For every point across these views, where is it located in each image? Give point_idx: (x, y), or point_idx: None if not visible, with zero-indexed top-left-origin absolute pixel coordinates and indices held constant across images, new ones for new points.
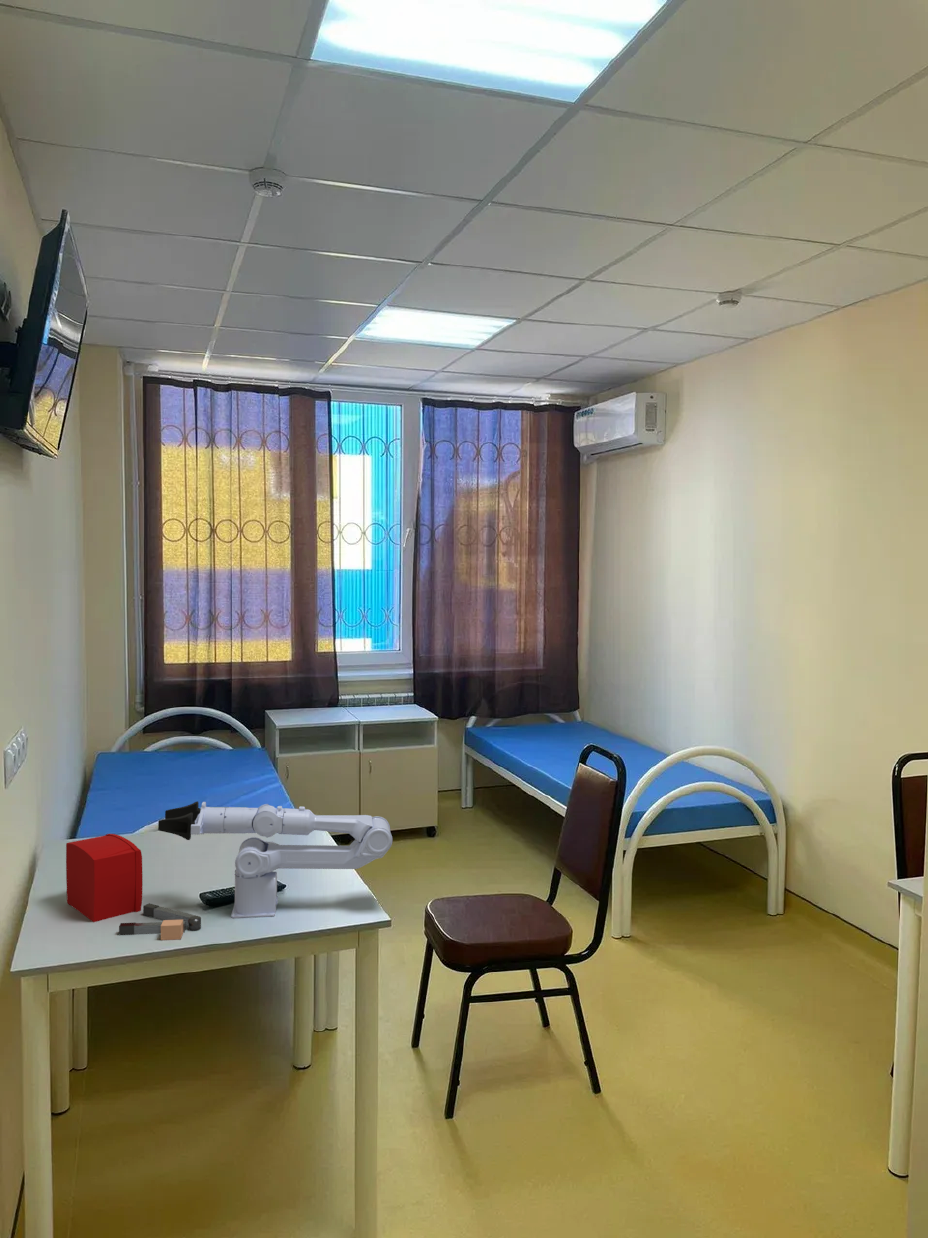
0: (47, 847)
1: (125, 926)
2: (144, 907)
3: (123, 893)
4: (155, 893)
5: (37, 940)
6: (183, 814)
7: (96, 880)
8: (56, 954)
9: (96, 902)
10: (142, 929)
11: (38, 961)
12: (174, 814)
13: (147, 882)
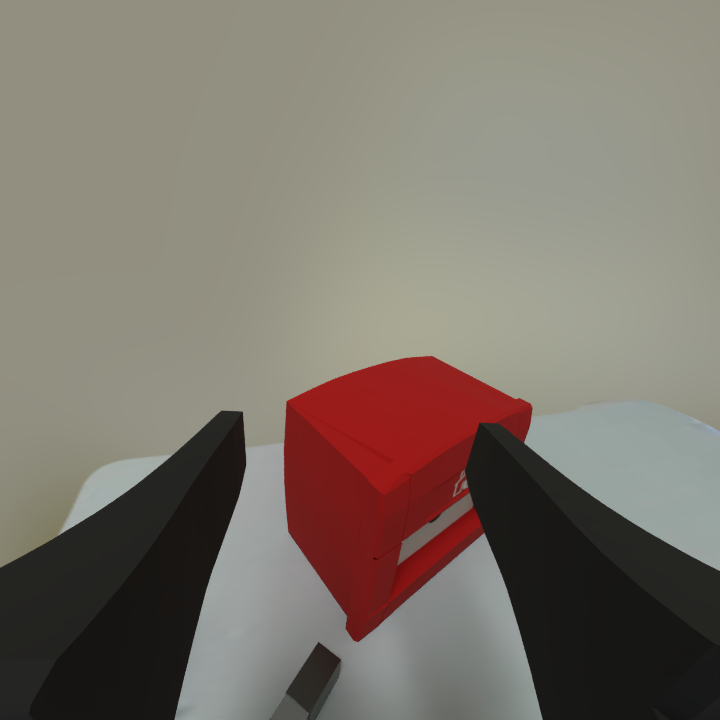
0: (640, 403)
1: None
2: (314, 650)
3: (330, 550)
4: (518, 657)
5: None
6: (540, 563)
7: (287, 454)
8: None
9: (288, 500)
10: None
11: (106, 479)
12: (500, 491)
13: None
